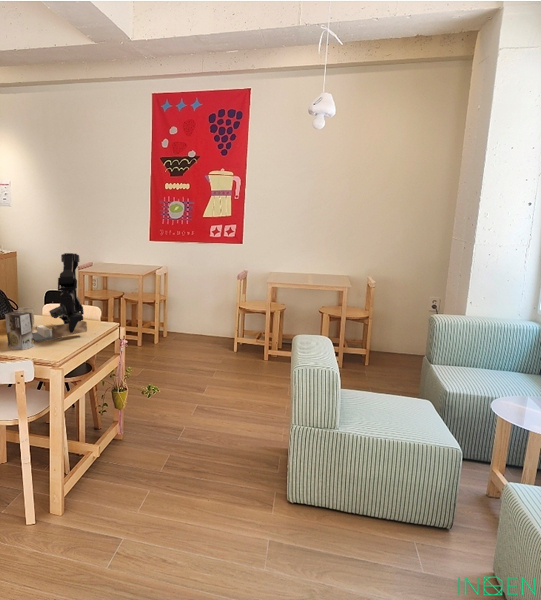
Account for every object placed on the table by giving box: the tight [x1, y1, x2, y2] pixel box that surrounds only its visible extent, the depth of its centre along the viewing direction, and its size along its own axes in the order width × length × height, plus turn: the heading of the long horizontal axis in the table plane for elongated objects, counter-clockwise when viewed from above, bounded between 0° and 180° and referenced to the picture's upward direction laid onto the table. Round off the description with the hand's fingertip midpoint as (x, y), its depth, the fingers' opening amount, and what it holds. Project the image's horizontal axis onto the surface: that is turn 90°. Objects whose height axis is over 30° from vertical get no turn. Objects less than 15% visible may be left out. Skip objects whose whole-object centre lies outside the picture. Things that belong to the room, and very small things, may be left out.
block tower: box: [17, 306, 35, 330], centre depth 234 cm, size 8×8×29 cm
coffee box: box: [4, 310, 35, 351], centre depth 201 cm, size 9×6×16 cm
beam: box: [51, 320, 88, 339], centre depth 217 cm, size 16×4×5 cm, turn 143°
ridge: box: [33, 324, 62, 343], centre depth 219 cm, size 12×14×4 cm
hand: (69, 331), depth 217 cm, fingers closed on beam, 4 cm apart
